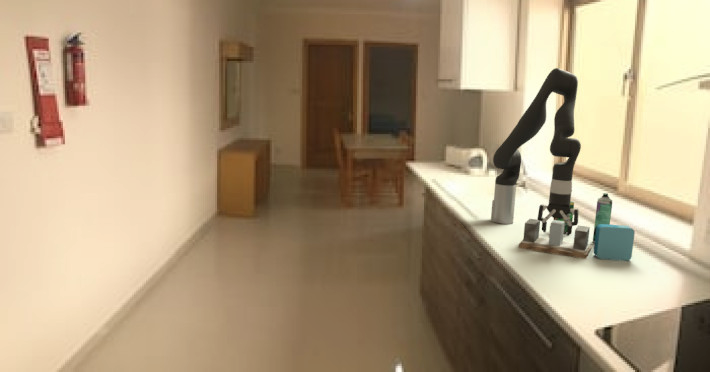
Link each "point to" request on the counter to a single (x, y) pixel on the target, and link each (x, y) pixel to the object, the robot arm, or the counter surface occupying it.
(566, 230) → the coffee box
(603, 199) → the spray can
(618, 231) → the blue rounded block
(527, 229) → the wooden block stand
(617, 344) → the counter surface
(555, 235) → the block
